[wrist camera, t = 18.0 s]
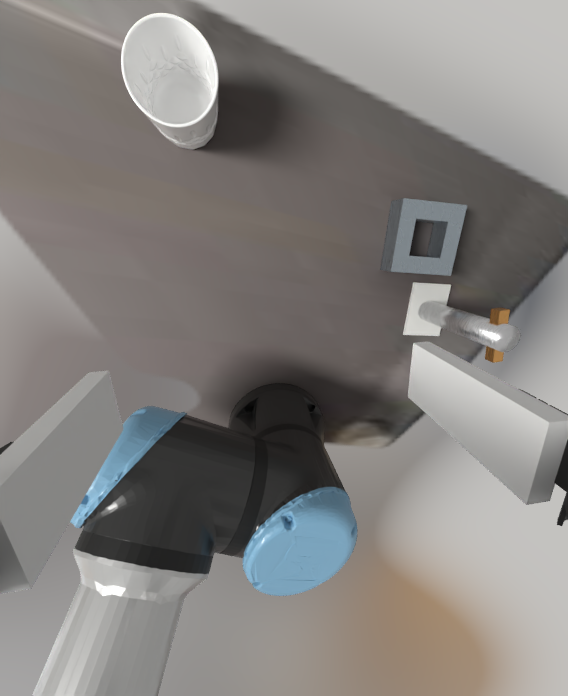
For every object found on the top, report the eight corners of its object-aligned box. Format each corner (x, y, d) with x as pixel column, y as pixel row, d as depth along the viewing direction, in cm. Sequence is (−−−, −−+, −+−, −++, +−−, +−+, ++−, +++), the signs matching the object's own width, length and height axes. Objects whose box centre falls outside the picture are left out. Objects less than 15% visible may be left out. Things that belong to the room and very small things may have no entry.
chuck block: (436, 273, 47) (450, 275, 44) (380, 269, 45) (390, 271, 42) (451, 207, 44) (467, 205, 41) (391, 201, 42) (403, 198, 39)
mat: (437, 335, 50) (439, 335, 50) (402, 334, 49) (404, 334, 49) (449, 284, 48) (451, 284, 47) (413, 282, 47) (414, 282, 46)
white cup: (224, 83, 36) (221, 26, 26) (219, 161, 38) (215, 135, 29) (150, 66, 34) (119, 0, 25) (150, 148, 36) (122, 116, 27)
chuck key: (417, 330, 49) (491, 366, 35) (419, 292, 47) (498, 314, 33) (435, 328, 49) (516, 362, 35) (437, 289, 47) (524, 310, 33)
